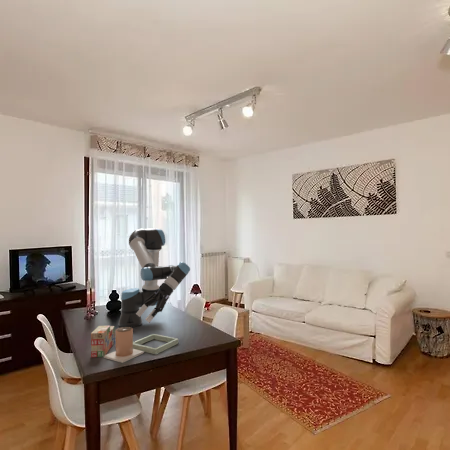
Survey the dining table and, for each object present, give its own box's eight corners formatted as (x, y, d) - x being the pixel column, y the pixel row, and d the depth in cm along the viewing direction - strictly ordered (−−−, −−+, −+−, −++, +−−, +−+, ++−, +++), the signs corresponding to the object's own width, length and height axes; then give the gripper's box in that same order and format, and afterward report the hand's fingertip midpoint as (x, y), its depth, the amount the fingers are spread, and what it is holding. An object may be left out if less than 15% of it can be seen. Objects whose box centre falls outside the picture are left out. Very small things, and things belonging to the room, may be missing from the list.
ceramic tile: (104, 357, 162) (104, 355, 162) (125, 348, 175) (125, 346, 175) (122, 362, 156) (122, 360, 156) (143, 353, 168) (143, 351, 168)
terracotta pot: (113, 352, 166) (113, 328, 167) (129, 349, 171) (129, 325, 171) (118, 357, 160) (118, 333, 160) (135, 354, 164) (135, 329, 165)
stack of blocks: (103, 342, 185) (103, 320, 185) (115, 342, 185) (115, 320, 185) (90, 357, 163) (90, 332, 163) (103, 357, 164) (103, 332, 164)
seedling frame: (129, 348, 176) (129, 343, 176) (153, 338, 191) (153, 333, 192) (155, 354, 166) (155, 349, 166) (178, 343, 182) (178, 338, 182)
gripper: (155, 279, 189) (129, 309, 180) (174, 285, 168) (146, 319, 159) (163, 287, 192) (138, 317, 183) (183, 294, 171) (156, 328, 162)
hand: (142, 318), depth 171 cm, fingers open, 13 cm apart
